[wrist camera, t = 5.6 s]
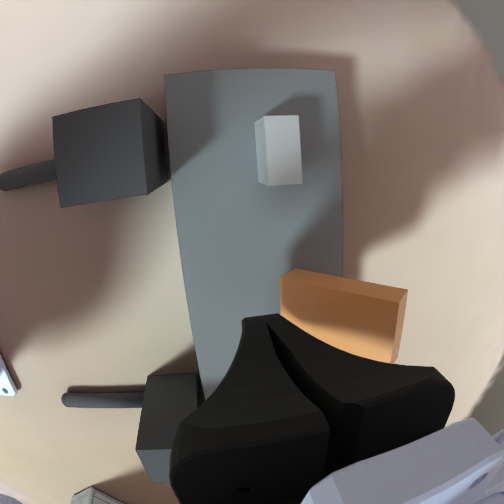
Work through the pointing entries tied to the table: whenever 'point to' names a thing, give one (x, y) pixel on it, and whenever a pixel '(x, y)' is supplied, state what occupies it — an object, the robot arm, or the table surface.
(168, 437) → the plug
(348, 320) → the orange rectangular block
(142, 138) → the plug
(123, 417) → the table surface
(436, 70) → the table surface
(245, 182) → the power strip
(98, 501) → the medicine box
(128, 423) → the table surface
